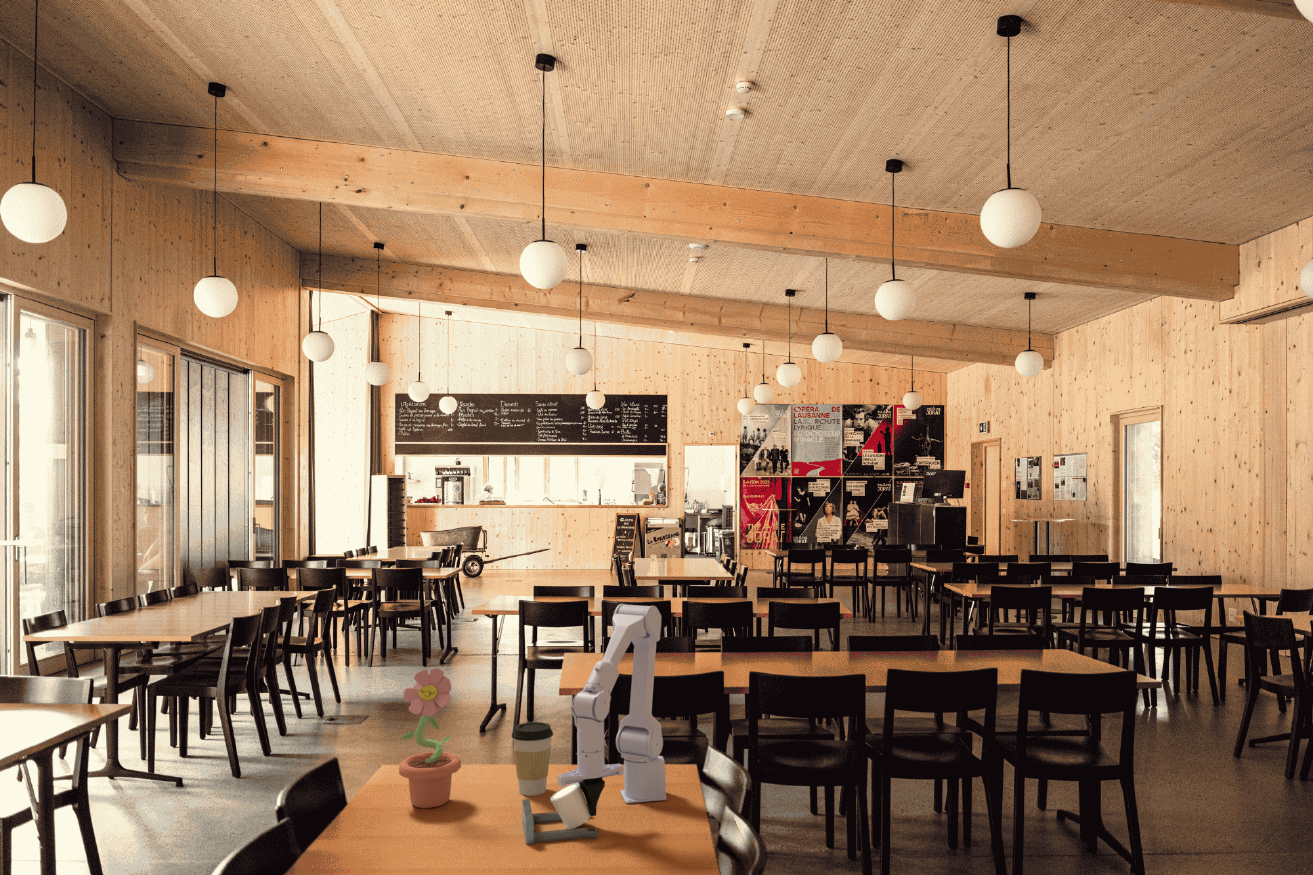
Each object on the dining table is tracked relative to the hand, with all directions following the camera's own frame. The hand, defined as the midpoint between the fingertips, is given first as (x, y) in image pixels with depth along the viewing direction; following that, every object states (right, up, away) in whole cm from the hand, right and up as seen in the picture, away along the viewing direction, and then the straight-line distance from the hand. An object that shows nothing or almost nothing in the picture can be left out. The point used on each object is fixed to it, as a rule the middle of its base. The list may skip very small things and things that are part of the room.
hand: (591, 814), depth 186 cm
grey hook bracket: (-7, -2, -1) cm, 8 cm away
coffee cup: (-16, -4, +22) cm, 28 cm away
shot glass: (-3, -2, 0) cm, 3 cm away
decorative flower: (-39, -4, +15) cm, 42 cm away
